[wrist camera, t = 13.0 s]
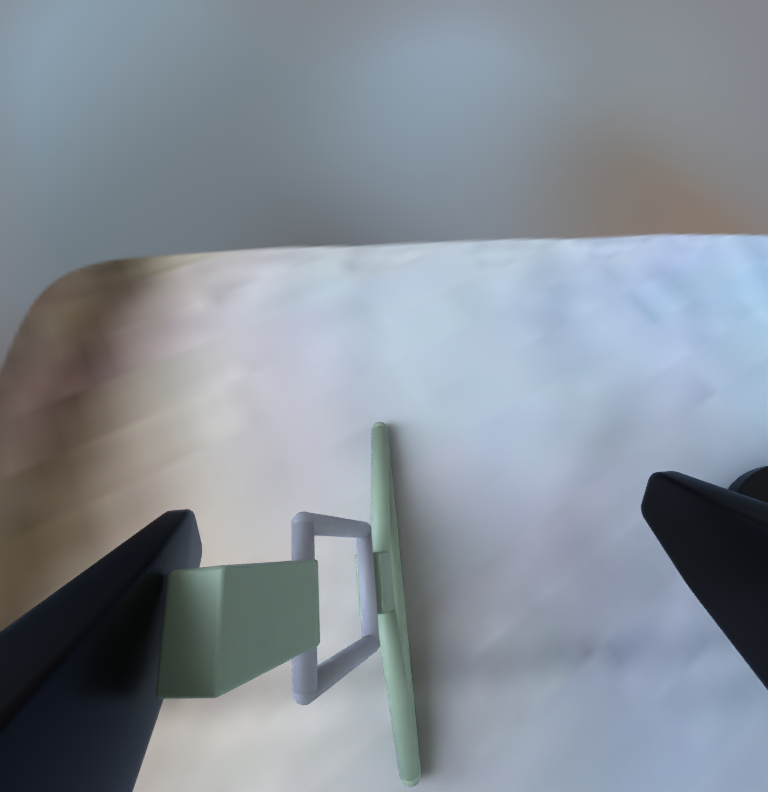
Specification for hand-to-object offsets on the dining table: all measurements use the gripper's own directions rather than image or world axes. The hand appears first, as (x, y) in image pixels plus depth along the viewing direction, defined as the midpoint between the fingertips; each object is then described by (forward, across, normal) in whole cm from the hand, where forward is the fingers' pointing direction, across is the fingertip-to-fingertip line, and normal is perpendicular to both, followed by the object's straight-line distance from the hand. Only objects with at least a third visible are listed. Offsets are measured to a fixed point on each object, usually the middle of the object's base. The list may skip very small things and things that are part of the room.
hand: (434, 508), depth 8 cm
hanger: (+5, 0, +7) cm, 9 cm away
